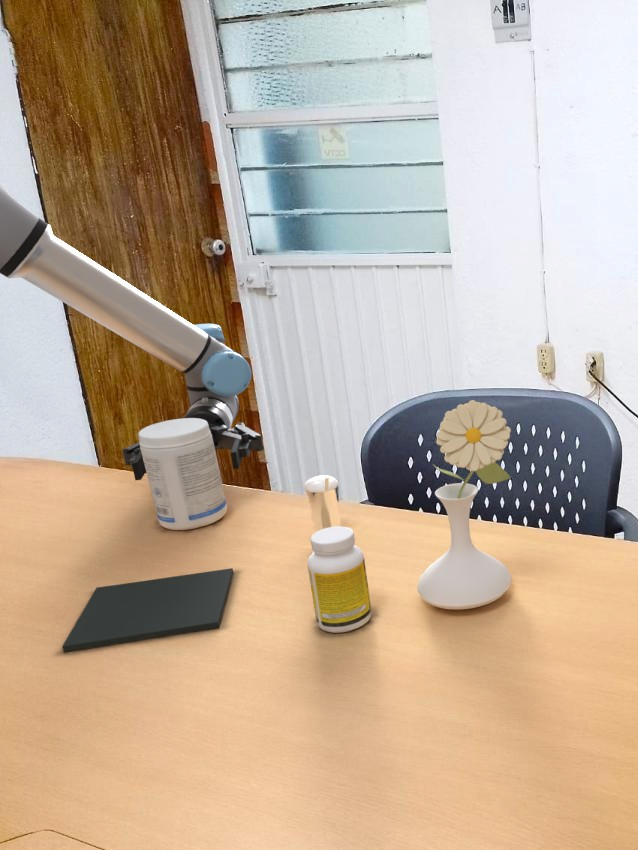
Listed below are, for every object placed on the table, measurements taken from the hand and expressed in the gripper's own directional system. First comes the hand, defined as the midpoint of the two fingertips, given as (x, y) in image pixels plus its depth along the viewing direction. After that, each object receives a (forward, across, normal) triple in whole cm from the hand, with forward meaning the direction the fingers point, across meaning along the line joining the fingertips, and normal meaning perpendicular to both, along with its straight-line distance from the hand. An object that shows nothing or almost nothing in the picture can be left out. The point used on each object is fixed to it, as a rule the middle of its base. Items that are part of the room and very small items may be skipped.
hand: (186, 466), depth 124 cm
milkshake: (+16, +20, +8) cm, 27 cm away
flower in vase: (+39, +37, +8) cm, 54 cm away
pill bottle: (+40, +22, +8) cm, 46 cm away
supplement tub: (+2, 0, +8) cm, 8 cm away
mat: (+30, 0, +8) cm, 31 cm away
